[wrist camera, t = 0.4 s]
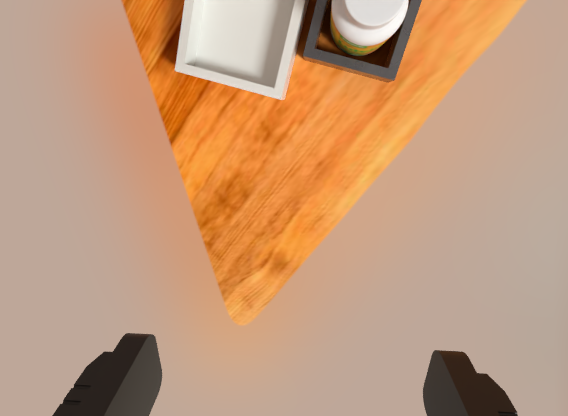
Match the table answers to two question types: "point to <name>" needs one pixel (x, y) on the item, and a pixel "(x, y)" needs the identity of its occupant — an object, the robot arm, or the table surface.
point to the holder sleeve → (355, 65)
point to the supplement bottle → (365, 23)
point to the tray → (241, 42)
